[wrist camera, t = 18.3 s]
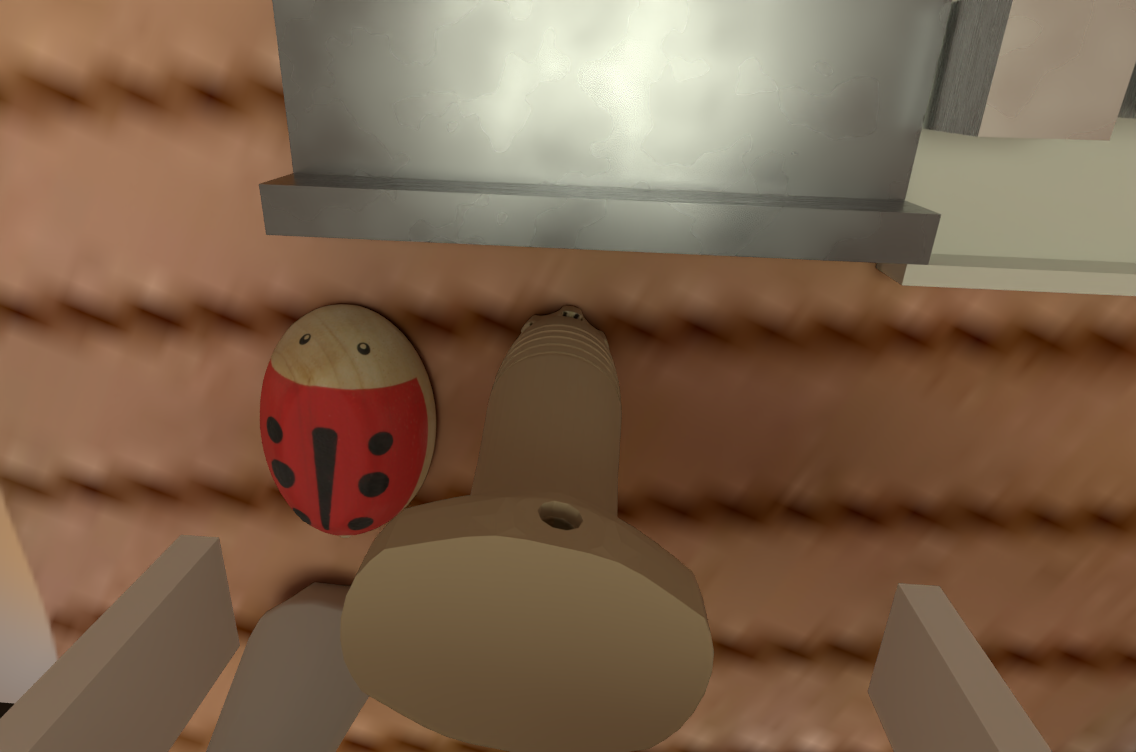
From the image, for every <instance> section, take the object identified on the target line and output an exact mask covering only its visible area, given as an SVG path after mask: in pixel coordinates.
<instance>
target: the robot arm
mask: <svg viewBox="0 0 1136 752" xmlns="http://www.w3.org/2000/svg"><path fill="white" fill-rule="evenodd" d="M239 646H240V644H239V639H238V633H237V628H236V623H235V618H234V613H233V607H232V602H231V597H230V592H229V587H228V581H227V576H226V571H225V566H224V561H223V556H222V550H221V545H220V540H219V537H204V536H189V535H180V536H179V537H178V538H177V539H176V540H175V541H174V543H173V544H172V545H171V546H170V547H169V548H168V549H167V550H166V551H165V552H164V553H163V554H162V555H161V556H160V557H159V558H158V559H157V560H156V561H155V562H154V563H153V564H152V565H151V566H150V567H149V568H148V569H147V570H146V571H145V572H144V573H143V574H142V575H141V576H140V577H139V578H138V579H137V580H136V581H135V582H134V583H133V584H132V585H131V586H130V587H129V588H128V589H127V590H126V591H125V592H124V593H123V594H122V595H121V596H120V597H119V598H118V599H117V600H116V601H115V602H114V604H113V605H112V606H111V607H110V608H109V609H108V610H107V611H106V612H105V613H104V614H103V615H102V616H101V617H100V618H99V619H98V620H97V621H96V622H95V623H94V624H93V625H92V626H91V627H90V628H89V629H88V630H87V631H86V632H85V633H84V634H83V635H82V636H81V637H80V638H79V639H78V640H77V641H76V642H75V643H74V644H73V645H72V646H71V647H70V648H69V649H68V650H67V651H66V652H65V653H64V654H63V655H62V656H61V657H60V658H59V659H58V660H57V661H56V662H55V664H54V665H53V666H52V667H51V668H50V669H49V670H48V671H47V672H46V673H45V674H44V675H43V676H42V677H41V678H40V679H39V680H38V681H37V682H36V683H35V684H34V685H33V686H32V687H31V688H30V689H29V690H28V691H27V692H26V693H25V694H24V695H23V696H22V697H21V698H20V699H19V700H18V701H17V702H16V703H15V704H12V703H1V702H0V752H168V751H169V750H170V748H171V747H172V745H173V744H174V742H175V741H176V739H177V738H178V736H179V735H180V733H181V732H182V730H183V729H184V728H185V726H186V725H187V723H188V722H189V720H190V719H191V717H192V716H193V714H194V713H195V711H196V710H197V708H198V707H199V705H200V704H201V702H202V701H203V699H204V698H205V696H206V695H207V693H208V692H209V691H210V689H211V688H212V686H213V685H214V683H215V682H216V680H217V679H218V677H219V676H220V674H221V673H222V671H223V670H224V668H225V667H226V665H227V664H228V662H229V661H230V659H231V658H232V656H233V655H234V654H235V652H236V651H237V649H238V648H239ZM868 694H869V696H870V698H871V700H872V703H873V705H874V707H875V710H876V712H877V714H878V716H879V719H880V721H881V723H882V726H883V728H884V730H885V732H886V735H887V737H888V739H889V742H890V744H891V746H892V748H893V751H894V752H1052V751H1051V749H1050V748H1049V746H1048V745H1047V743H1046V742H1045V740H1044V739H1043V737H1042V736H1041V734H1040V733H1039V731H1038V730H1037V729H1036V727H1035V726H1034V724H1033V723H1032V721H1031V720H1030V718H1029V717H1028V715H1027V714H1026V712H1025V711H1024V709H1023V708H1022V706H1021V705H1020V704H1019V702H1018V701H1017V699H1016V698H1015V696H1014V695H1013V693H1012V692H1011V690H1010V689H1009V687H1008V686H1007V684H1006V683H1005V682H1004V680H1003V679H1002V677H1001V676H1000V674H999V673H998V671H997V670H996V668H995V667H994V665H993V664H992V662H991V661H990V660H989V658H988V657H987V655H986V654H985V652H984V651H983V649H982V648H981V646H980V645H979V643H978V642H977V640H976V639H975V638H974V636H973V635H972V633H971V632H970V630H969V629H968V627H967V626H966V624H965V623H964V621H963V620H962V618H961V617H960V616H959V614H958V613H957V611H956V610H955V608H954V607H953V605H952V604H951V602H950V601H949V599H948V598H947V596H946V595H945V594H944V592H943V591H942V589H941V588H940V586H931V585H916V584H902V583H898V586H897V589H896V593H895V596H894V600H893V603H892V607H891V611H890V614H889V618H888V621H887V625H886V628H885V632H884V635H883V639H882V642H881V646H880V650H879V653H878V657H877V660H876V664H875V667H874V671H873V674H872V678H871V681H870V685H869V689H868Z"/></svg>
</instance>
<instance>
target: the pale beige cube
mask: <svg viewBox="0 0 1136 752" xmlns="http://www.w3.org/2000/svg"><path fill="white" fill-rule="evenodd" d="M1135 63H1136V0H959V1H955V2H952V3H951V7H950V12H949V16H948V20H947V24H946V28H945V33H944V37H943V41H942V45H941V50H940V54H939V58H938V62H937V67H936V71H935V75H934V79H933V83H932V88H931V92H930V96H929V100H928V105H927V109H926V113H925V117H924V122H923V126H922V129H929V130H936V131H942V132H949V133H956V134H963V135H970V136H976V137H1004V138H1037V139H1071V140H1104V141H1110V138H1111V135H1112V132H1113V129H1114V126H1115V123H1116V120H1117V117H1118V114H1119V111H1120V108H1121V105H1122V102H1123V99H1124V96H1125V93H1126V90H1127V87H1128V84H1129V81H1130V78H1131V75H1132V72H1133V69H1134V66H1135Z"/></svg>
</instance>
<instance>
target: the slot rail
mask: <svg viewBox="0 0 1136 752" xmlns="http://www.w3.org/2000/svg"><path fill="white" fill-rule="evenodd" d="M272 2H273V10H274V18H275V27H276V35H277V43H278V51H279V59H280V67H281V75H282V83H283V91H284V100H285V108H286V116H287V124H288V132H289V140H290V148H291V156H292V164H293V172H294V173H293V174H290V175H287V176H283V177H280V178H277V179H274V180H270V181H267V182H264V183H261V184H259V188H260V195H261V202H262V209H263V216H264V223H265V230H266V235H283V236H304V237H326V238H348V239H370V240H392V241H414V242H436V243H457V244H479V245H501V246H523V247H545V248H567V249H588V250H610V251H632V252H654V253H676V254H698V255H720V256H741V257H763V258H785V259H807V260H829V261H851V262H872V263H894V264H916V265H928V264H929V260H930V256H931V252H932V249H933V245H934V241H935V237H936V233H937V229H938V225H939V222H940V218H941V214H939V213H937V212H934V211H931V210H929V209H926V208H924V207H921V206H918V205H916V204H913V203H911V202H908V201H905V198H906V194H907V189H908V185H909V181H910V177H911V172H912V168H913V164H914V160H915V155H916V151H917V147H918V143H919V138H920V134H921V130H922V126H923V122H924V117H925V113H926V109H927V105H928V100H929V96H930V92H931V88H932V83H933V79H934V75H935V71H936V67H937V62H938V58H939V54H940V50H941V45H942V41H943V37H944V33H945V28H946V24H947V20H948V16H949V12H950V7H951V3H952V0H272Z"/></svg>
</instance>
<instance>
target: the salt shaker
mask: <svg viewBox="0 0 1136 752" xmlns="http://www.w3.org/2000/svg"><path fill="white" fill-rule="evenodd" d="M350 587H351V586H346V585H336V584H326V583H317V582H314V583H312V584H311V585H309V586H308V587H306V588H305V589H303V590H302V591H300V592H299V593H297V594H296V595H294V596H293V597H291V598H290V599H288V600H287V601H285V602H283V603H281V604H279V605H278V606H276V607H274V608H272V609H271V610H269V611H267V612H266V613H265V614H264V615H263V616H262V618H261V619H260V620H259V622H258V624H257V625H256V627H255V629H254V631H253V632H252V634H251V636H250V638H249V639H248V642H247V645H246V647H245V650H244V653H243V655H242V658H241V661H240V663H239V666H238V669H237V671H236V674H235V676H234V679H233V682H232V684H231V687H230V690H229V692H228V695H227V698H226V700H225V703H224V706H223V708H222V711H221V714H220V716H219V719H218V722H217V724H216V727H215V729H214V732H213V735H212V737H211V740H210V743H209V745H208V748H207V751H206V752H336V750H337V748H338V747H339V745H340V743H341V742H342V740H343V738H344V737H345V735H346V733H347V732H348V730H349V728H350V727H351V725H352V723H353V722H354V720H355V718H356V717H357V715H358V713H359V712H360V710H361V708H362V707H363V705H364V704H365V702H366V700H367V699H368V697H369V695H367V694H365V693H364V692H362V691H361V690H360V688H359V687H358V685H357V684H356V682H355V681H354V679H353V678H352V676H351V674H350V672H349V670H348V668H347V666H346V663H345V661H344V658H343V652H342V647H341V642H340V627H341V615H342V611H343V607H344V603H345V599H346V595H347V593H348V591H349V589H350Z"/></svg>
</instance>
